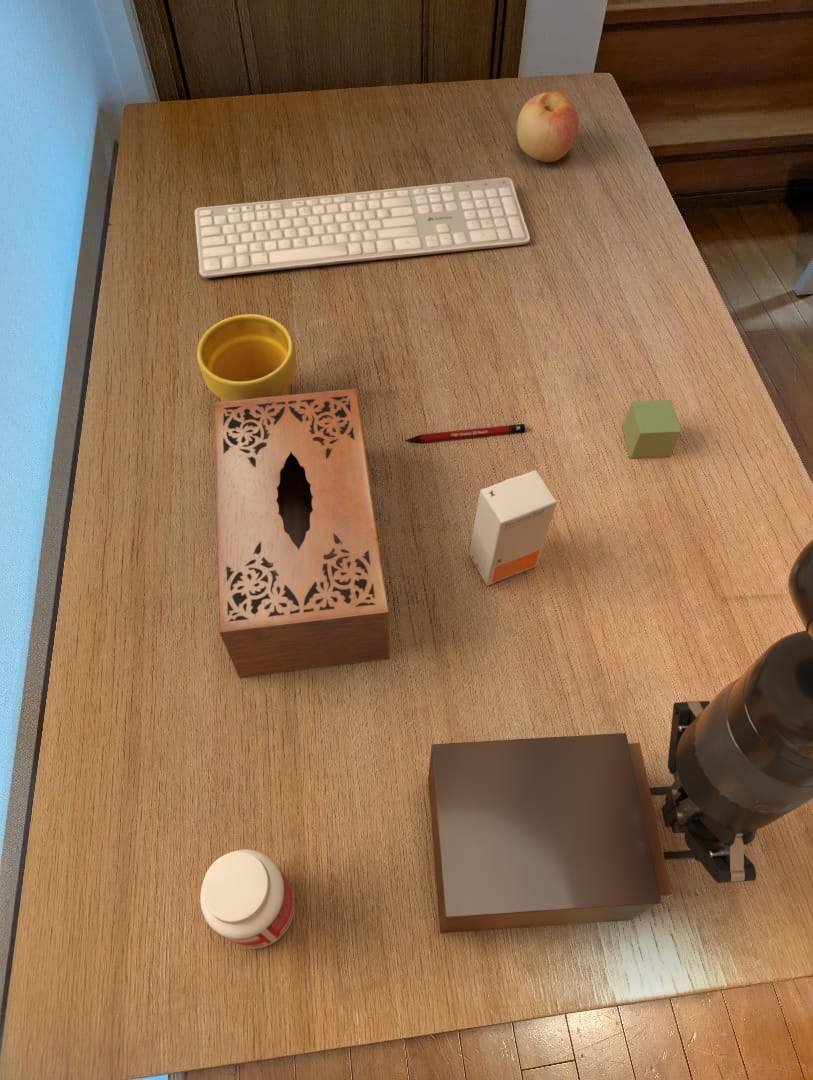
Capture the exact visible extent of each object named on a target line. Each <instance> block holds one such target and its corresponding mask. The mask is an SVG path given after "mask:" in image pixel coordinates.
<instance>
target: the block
mask: <svg viewBox="0 0 813 1080" xmlns="http://www.w3.org/2000/svg"><path fill="white" fill-rule="evenodd" d="M673 403H674V402H673V400H672V399H662V400H659V399H658V400H640V401H639V400H638V401H637V400H636V401H631V402H630V405H629V407H628V411H627V414H626V417H625V420H624V421H623V425H622V428H621V429H622V431H623V435H624V439H625V443H626V447H627V450H628V456H629V459H647V458H649V459H651V458H670V456H671V455H672V452H673V450H674V448H675V446H676V443H677V441H678V439H679V438H680V435H681V433H682V429H681V427H680V426H681V425H680V423H679V420H678V419H679V418H678V417H677V412H676V410H675V406H674V404H673Z"/></svg>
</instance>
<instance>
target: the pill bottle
mask: <svg viewBox="0 0 813 1080" xmlns="http://www.w3.org/2000/svg"><path fill="white" fill-rule="evenodd" d="M199 901H200V908H201V913H202V915H203V917H204V920H205V921H206V923H207V924H208V926H209V927H210V928H211V929H212V930H214V932H216V933H217V934H218V935H220V936H222V937H224V938H225V939H227V940H228V941H231V942H232V943H234V944H236V945H237V946H240V947H242V948H245V949H261V948H266V947H268V946H270V945H272V944H274V943H275V942H277V941H278V940H279V939H280V938H282V936H283V935H285V933H286V932H287V931H288V930H289V927H290V926H291V923H292V921H293V918H294V915H295V909H296V907H295V906H296V898H295V893H294V890H293V888H292V885H291V883H290V882H289V879H287V877H286V876H285V874H284V873H283V872H282V870H281V869H280V868H279V866H278V864H276V862H275V861H274V860H273V859H272V858H270V857H269V856H268V855H266V854H265V853H263V852H261V851H258V850H254V849H247V848H246V849H244V848H243V849H238V850H234V851H231V852H228V853H226V854H223V855H221V856H220V857H218V858H217V859H216V860H215V861H214V862H212V864H211V865H210V867H209V868H208V869H207V871H206V873H205V875H204V878H203V882H202V885H201V889H200V897H199Z"/></svg>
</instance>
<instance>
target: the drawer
mask: <svg viewBox="0 0 813 1080" xmlns="http://www.w3.org/2000/svg"><path fill="white" fill-rule="evenodd" d="M628 744H629V749H630V754H631V759H632V764H633V768H634V773H635V778H636V783H637V787H638V792H639V797H640V802H641V807H642V811H643V816H644V821H645V826H646V831H647V835H648V840H649V845H650V850H651V855H652V859H653V864H654V869H655V874H656V879H657V883H658V888H659V893H660V898H661V902H662V901H664V900H666V899H667V898H669V897H671V896H673V890H672V885H671V881H670V875H669V872H668V868H667V863H666V861H683V860H694V861H695V862H697V863H700V861H699V860H698V859H697V858H696V857H695V855H694V854H693V853H692V852H691V850H690V849H683V850H667V851H664V848H663V844H662V839H661V835H660V834H661V833H660V830H659V825H658V821H657V817H656V812H655V808H654V802H653V798H652V797H660V796H667V795H668V794H669V793H670V792H671V785H667V786H665V785H664V786H650V784H649V780H648V779H649V778H648V774H647V770H646V765H645V760H644V756H643V751H642V747H641V743H640V742H631V743H629V742H628Z"/></svg>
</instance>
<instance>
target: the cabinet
mask: <svg viewBox="0 0 813 1080" xmlns="http://www.w3.org/2000/svg"><path fill="white" fill-rule="evenodd" d="M628 743H629V740H628V735H627V733H626V732H617V733H600V734H584V735H568V736H567V735H566V736H551V737H549V736H547V737H536V738H535V737H534V738H517V739H516V738H515V739H498V740H481V741H466V742H464V741H463V742H450V743H449V742H447V743H433V744H431V749H430V758H429V767H428V774H427V775H428V777H427V780H428V781H427V782H428V794H429V806H430V809H429V810H430V819H431V820H430V821H431V834H432V835H431V836H432V847H433V861H434V874H435V888H436V900H437V901H436V902H437V911H438V913H437V914H438V926H439V934H451V933H467V932H479V931H481V932H482V931H496V930H508V929H509V930H510V929H511V930H512V929H524V928H541V927H553V926H554V927H555V926H567V925H583V924H597V923H599V924H601V923H611V922H612V923H613V922H626V921H627V922H628V921H631V920H633V919H635V918H636V917H638V916H641V915H642V914H644V913H645V912H647V911H650V910H651V909H653V908H655V907H657V906H659V905H661V904H662V901H661V898H660V893H659V888H658V883H657V879H656V874H655V869H654V864H653V859H652V855H651V850H650V845H649V840H648V835H647V831H646V826H645V821H644V816H643V811H642V807H641V802H640V797H639V792H638V787H637V783H636V778H635V773H634V768H633V764H632V759H631V754H630V749H629V744H628Z"/></svg>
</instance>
